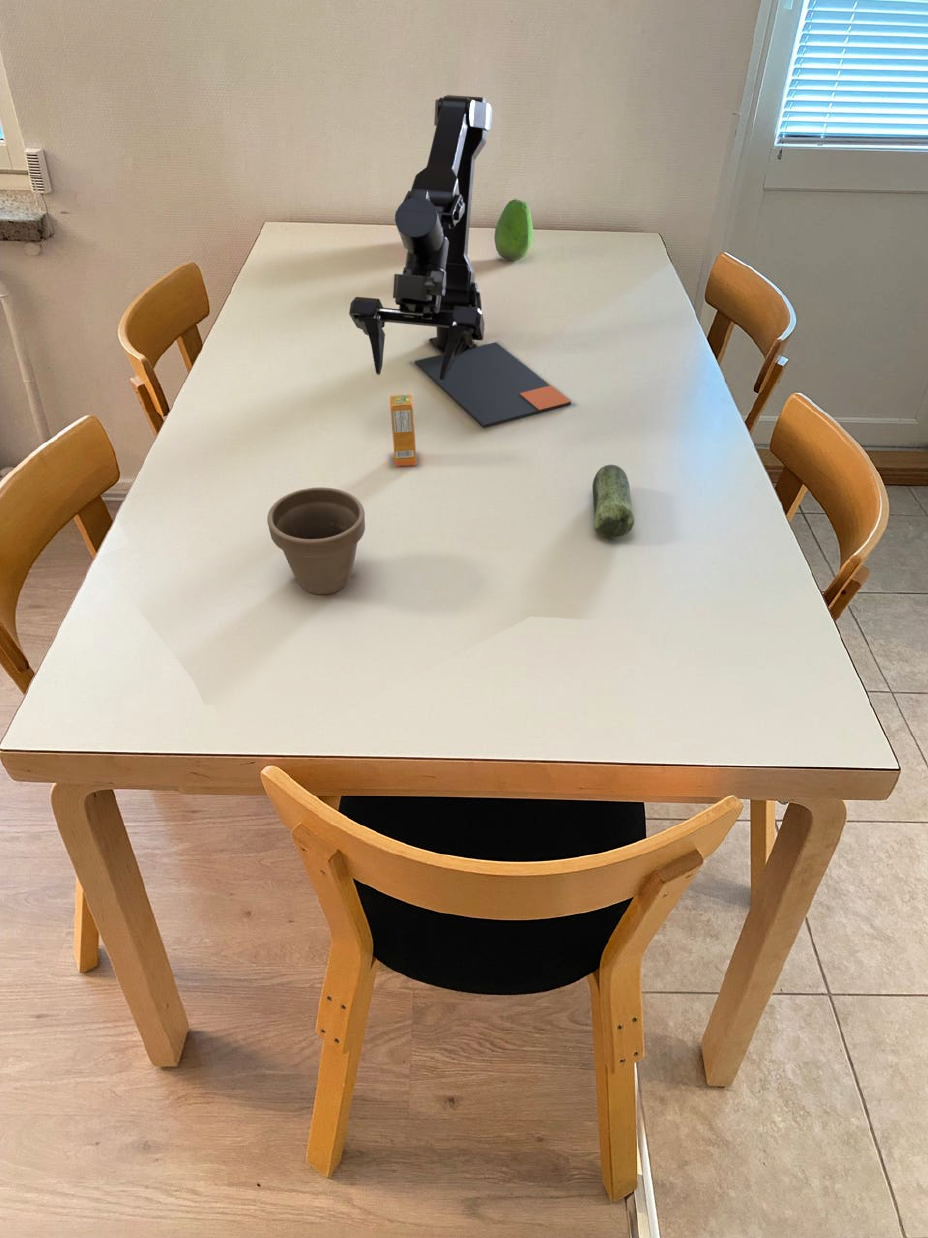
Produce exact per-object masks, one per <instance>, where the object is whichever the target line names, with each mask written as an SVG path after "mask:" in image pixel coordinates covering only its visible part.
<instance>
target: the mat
mask: <svg viewBox="0 0 928 1238" xmlns="http://www.w3.org/2000/svg"><path fill="white" fill-rule="evenodd" d="M443 356H444V354H442V353H441V354H438V355H434V356H429V357H426V358H421V359H416V360H414V365H416V366H417V367H418V369H420V370H421V371H422V372H423V373H424V374H425V375H427V377H428V378H429V379H431V380H432V381H433V382H434V383H435V384H436V385H437V386H438V387H439V388H440V389H441V390H443V392H445V393H446V394H447V395H448V397H450V398H452V400H453V401H454V402H455V403H457V405H459V406H460V407H461V408H462V409H463V411H465V412H466V413H468V415H469V416H470V417H471V418H473V419H474V420H475V421H476V422H477V423H478V424H479V425H480V426H481V427H482V428H487V427H492V426H495V425H499V424H504V423H507V422H511V421H515V420H519V419H522V418H526V417H529V416H533V415H536V414H537V415H538V414H540V413H544V412H548V411H552V410H556V409H559V408H564V407H567V406H570V405H571V404H572V400H570V399H569V398H567V396H565V395H564V394H563V393H561V392H560V391H559V390H558V389H557V388H555V387H554V386H552V385H551V384H549V383H548V382H546V381H545V380H544V379H543V378H541V376H539V375H538V374H537V373H535V372H534V371H533V370H531V369H530V367H528V366H526V365H525V364H524V363H523V362H522V361H520V360H519V359H518V358H516V357H515V356H514V355H513V354H512V353H510V352H509V351H508V350H506V349H505V348H504V347H503V346H501V345H500V344H499V343H497V342H496V341H495V342H491V343H487V344H483V345H477V347H476V348H471V349H468V350H464V351H462V352H461V353H460V354H459V356H458V357H457V358H456V360H455V361H454V363H453V365H452V367H451V368H450V370H449V372H448V374H447V375H446V377H445V379H444V380H443V381H440V369H441V365H442V360H443Z"/></svg>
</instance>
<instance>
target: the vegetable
mask: <svg viewBox="0 0 928 1238" xmlns="http://www.w3.org/2000/svg"><path fill="white" fill-rule="evenodd" d="M591 489H592V498H593V499H592V501H593V515H594V516H593V527H594V530H595V531H596V533H597V534H598V535H600V536H602V537H604V538H609V539H610V538H611V539H616V538H620V537H623V536H625V535H628V533H630V531H631V530H632V529H633V527H634V524H635V516H634V511H633V506H632V497H631V487H630V482H629V479H628V476H627V474H626V472H625V470H624V469H623V468H621V466H619V465H615V464H607V465H604V466H601V468H599V469H598V471H597V472H596V474H595V476H594V478H593V481H592V488H591Z"/></svg>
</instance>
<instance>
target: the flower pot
mask: <svg viewBox="0 0 928 1238" xmlns="http://www.w3.org/2000/svg"><path fill="white" fill-rule="evenodd" d="M365 514H366V512H365V509H364V506H363V504H362V503H361V501H360V500H359V499H358V498H357V497H356V496H355V495H353V494H351V493H350V492H348V491H345V490H342V489H338V488H334V487H323V486H321V487H307V488H304V489H299V490H296V491H293V492H290V493H287V494H286V495H284V496H283V497H281V498H279V499H278V500H277V501H276V502H274V503H273V505H272V506H271V507H270V509H268V512H267V519H266V520H267V521H266V522H267V525H268V531H269V534H270V538H271V540H272V542H273V544H274V545H276V546H277V547H278V548H279V549H280V550H282V552H283V554H284V557H285V559H286V561H287V563H288V565H289V568H290V570H291V572H292V575H293V576H294V578H295V580H296V582H297V584H298V586H299V587H300V588H301V589H303V590H304V591H306V592H308V593H310V594H315V595H328V594H333V593H337V592H338V591H340V590H342V589H344V587H346V586H347V585H348V583H349V582H350V580H351V576H352V572H353V568H354V564H355V559H356V553H357V549H358V543H359V541H361V539H362V538H363V536H364V534H365V531H366V519H365V517H366V515H365Z"/></svg>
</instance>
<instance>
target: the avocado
mask: <svg viewBox="0 0 928 1238" xmlns="http://www.w3.org/2000/svg"><path fill="white" fill-rule="evenodd" d="M533 238H534V227H533V222H532V215H531V211H530V207H529V205H528V203H527V202H526V201H523V200H521V199H518V198H517V199H516V198H514V199H511V200H510V201H508V202H507V204H506V205H505V207H504V208H503V210H502V212H501V214H500V216H499V218H498V221H497V224H496V226H495V229H494V238H493V239H494V245H495V249H496V252H497V254H498V256H500V257H501V258H503V259H504V260H506V261H512V262H515V261H519V260H521V259H523V258H524V257H526V255H527V254H528V252H529V250H530V248H531V246H532V242H533V240H534V239H533Z"/></svg>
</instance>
